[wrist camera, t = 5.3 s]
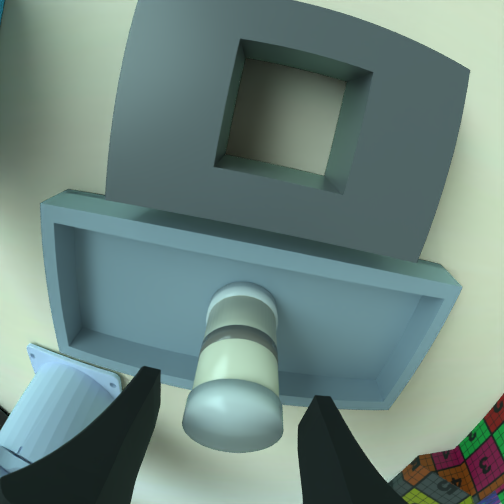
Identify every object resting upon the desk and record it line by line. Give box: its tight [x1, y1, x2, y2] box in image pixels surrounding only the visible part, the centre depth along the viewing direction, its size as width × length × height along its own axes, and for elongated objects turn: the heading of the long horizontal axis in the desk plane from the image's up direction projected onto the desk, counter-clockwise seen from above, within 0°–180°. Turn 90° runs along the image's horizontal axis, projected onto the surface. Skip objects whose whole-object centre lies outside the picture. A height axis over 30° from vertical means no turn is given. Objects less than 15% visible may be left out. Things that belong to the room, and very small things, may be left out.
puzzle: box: [388, 394, 504, 504], centre depth 19 cm, size 25×17×14 cm
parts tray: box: [40, 189, 462, 410], centre depth 15 cm, size 9×20×2 cm, turn 78°
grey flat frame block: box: [105, 0, 470, 263], centre depth 11 cm, size 8×12×4 cm, turn 78°
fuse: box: [182, 282, 283, 453], centre depth 13 cm, size 3×3×7 cm
